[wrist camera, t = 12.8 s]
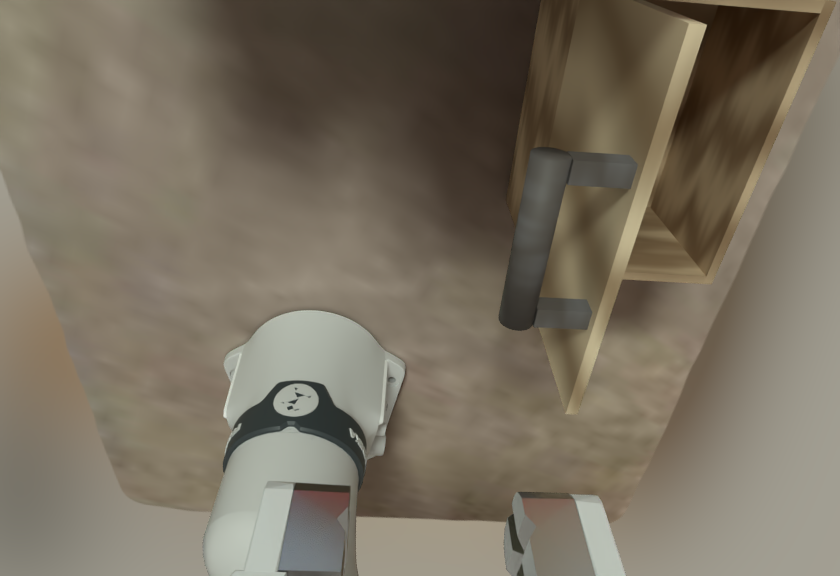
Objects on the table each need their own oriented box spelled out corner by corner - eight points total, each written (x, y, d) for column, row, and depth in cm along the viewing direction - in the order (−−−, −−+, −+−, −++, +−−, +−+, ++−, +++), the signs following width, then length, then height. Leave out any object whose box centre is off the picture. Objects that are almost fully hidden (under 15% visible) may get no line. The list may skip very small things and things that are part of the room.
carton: (650, 208, 50) (711, 284, 40) (505, 199, 49) (530, 274, 39) (729, -22, 39) (836, 1, 30) (547, -38, 39) (595, -19, 29)
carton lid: (577, 414, 28) (486, 411, 28) (530, 275, 39) (463, 271, 38) (707, 24, 18) (565, 13, 18) (595, -19, 29) (505, -26, 28)
